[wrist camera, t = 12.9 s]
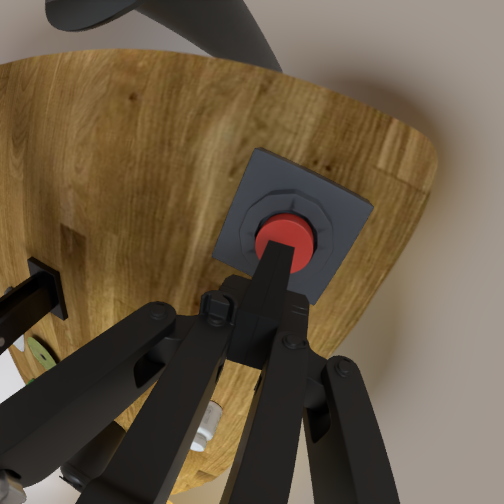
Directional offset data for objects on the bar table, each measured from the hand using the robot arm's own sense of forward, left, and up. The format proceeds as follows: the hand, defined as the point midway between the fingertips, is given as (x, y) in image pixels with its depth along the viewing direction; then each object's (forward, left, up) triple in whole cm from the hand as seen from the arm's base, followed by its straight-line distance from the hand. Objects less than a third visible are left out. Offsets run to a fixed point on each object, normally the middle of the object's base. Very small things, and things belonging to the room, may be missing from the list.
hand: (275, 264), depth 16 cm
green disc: (+50, -35, -9) cm, 62 cm away
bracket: (+26, -30, -9) cm, 41 cm away
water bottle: (+66, -16, -9) cm, 69 cm away
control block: (0, 0, -9) cm, 9 cm away
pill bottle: (+31, +2, -9) cm, 33 cm away
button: (0, 0, -5) cm, 5 cm away
